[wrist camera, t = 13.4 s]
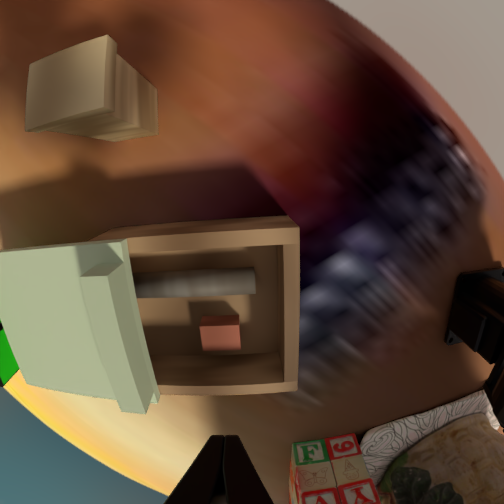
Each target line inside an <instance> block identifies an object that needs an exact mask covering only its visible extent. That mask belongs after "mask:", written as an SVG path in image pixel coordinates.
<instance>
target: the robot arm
mask: <svg viewBox="0 0 504 504" xmlns="http://www.w3.org/2000/svg"><path fill="white" fill-rule="evenodd" d="M462 279H463V280H462ZM444 342H445V343H446V344H447V345H453V344H456V343H460V342H464V343H465V344H466V345H467V346H468V347H470V348H471V349H472V350H473V351H474V352H477V353H479V354H480V355H481V356H482V357H483V358H484V359H485V360H486V361H487V362H488V363H489V364H493V363H494V364H495V365H494V367H493V369H492V371H491V373H490V376H489V378H488V379H487V381H485V383H484V385H483V389H484V391H485V393H486V395H487V398H488V400H489V402H490V404H491V407H492V411H493V414H494V415H495V417H496V418H497V420H498V422H499V424H500V425H501V427H503V428H504V267H498V268H491V269H485V270H478V271H470V272H463V273H460V274H459V276H458V278H457V282H456V288H455V294H454V299H453V304H452V309H451V314H450V318H449V323H448V327H447V331H446V335H445V339H444ZM503 432H504V429H503ZM164 504H274V503H273V501H272V500H271V498H270V496H269V494H268V492H267V491H266V489H265V487H264V485H263V483H262V481H261V479H260V478H259V476H258V474H257V472H256V470H255V468H254V466H253V464H252V462H251V460H250V458H249V456H248V454H247V452H246V450H245V448H244V446H243V444H242V442H241V440H240V438H239V436H238V435H226V436H225V437H224V436H223V435H212V436H210V438H209V439H208V441H207V442H206V444H205V445H204V447H203V448H202V450H201V451H200V453H199V454H198V456H197V457H196V458H195V460H194V461H193V463H192V464H191V466H190V467H189V469H188V470H187V472H186V473H185V474H184V476H183V477H182V479H181V480H180V481H179V483H178V484H177V486H176V487H175V488H174V490H173V491H172V493H171V494H170V495H169V497H168V498H167V500H166V501H165V502H164Z"/></svg>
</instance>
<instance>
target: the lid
mask: <svg viewBox="0 0 504 504" xmlns="http://www.w3.org/2000/svg"><path fill="white" fill-rule="evenodd" d="M0 320H1V323H2V325H3V328H4V331H5V334H6V336H7V339H8V342H9V344H10V347H11V349H12V352H13V354H14V357H15V359H16V361H17V364H18V366H19V368H20V370H21V373H22V375H23V377H24V379H25V381H26V383H27V384H29V385H33V386H37V387H42V388H46V389H51V390H56V391H61V392H66V393H72V394H77V395H84V396H90V397H97V398H104V399H112V400H117V402H118V405H119V407H120V409H121V412H128V413H138V414H146V413H147V410H148V407H149V404H150V403H157V404H158V401H159V398H160V393H159V389H158V386H157V382H156V379H155V375H154V371H153V368H152V364H151V360H150V356H149V352H148V348H147V344H146V340H145V336H144V331H143V327H142V323H141V318H140V313H139V308H138V303H137V298H136V293H135V288H134V282H133V276H132V271H131V264H130V258H129V251H128V244H127V238H126V239H113V240H101V241H89V242H78V243H66V244H55V245H45V246H35V247H25V248H15V249H5V250H0Z"/></svg>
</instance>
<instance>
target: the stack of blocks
mask: <svg viewBox="0 0 504 504" xmlns="http://www.w3.org/2000/svg"><path fill="white" fill-rule="evenodd" d="M289 490H290V493H289V498H290V500H289V504H381V502H380V499H379V496H378V493H377V490H376V488H375V485H374V483H373V480H372V479H371V476H370V474H369V471H368V469H367V466H366V463H365V461H364V458H363V456H362V451H361V449H360V446H359V444H358V441H357V438H356V436H355V434H354V433H351V434H346V435H341V436H336V437H330V438H325V439H320V440H313V441H306V442H298V443H292V455H291V460H290V476H289Z"/></svg>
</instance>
